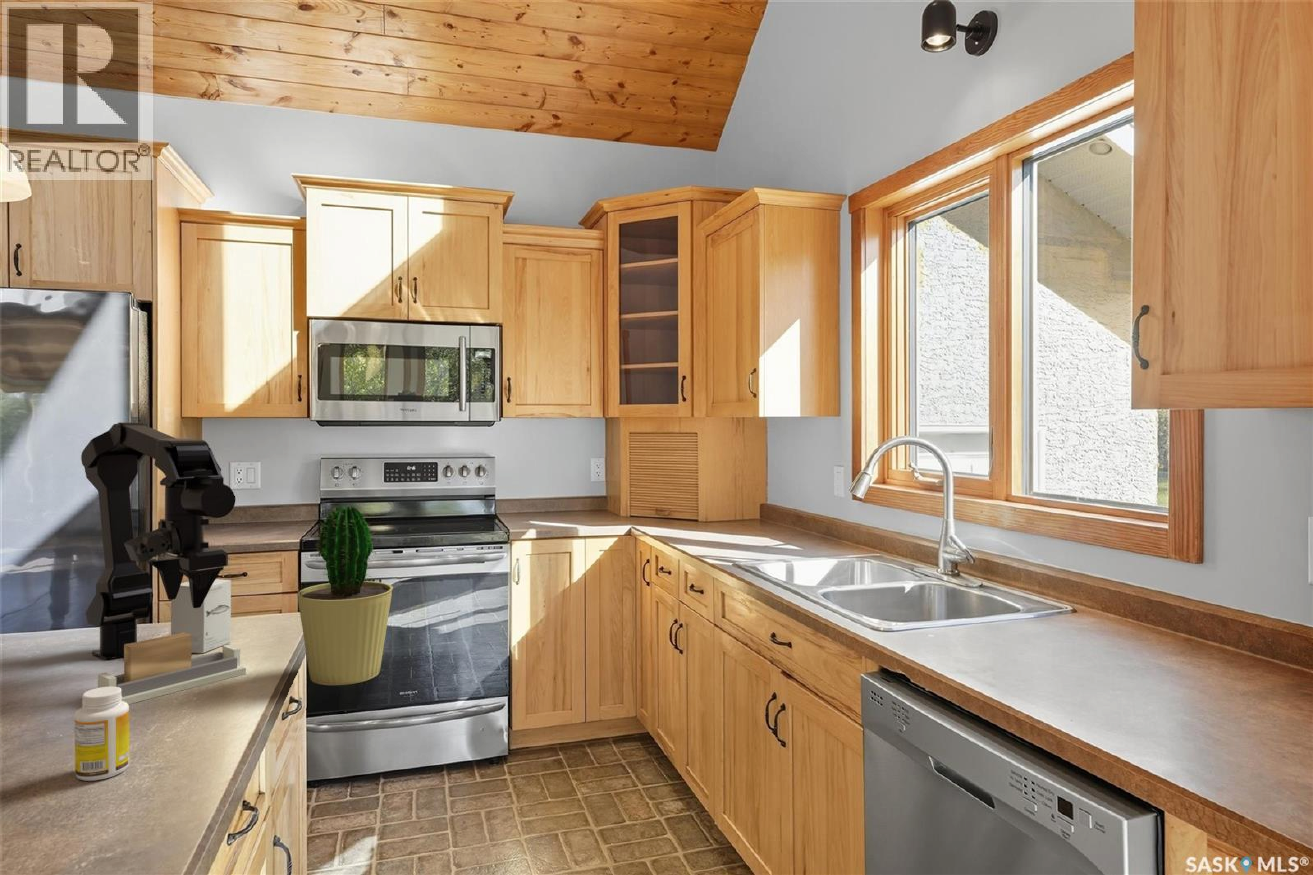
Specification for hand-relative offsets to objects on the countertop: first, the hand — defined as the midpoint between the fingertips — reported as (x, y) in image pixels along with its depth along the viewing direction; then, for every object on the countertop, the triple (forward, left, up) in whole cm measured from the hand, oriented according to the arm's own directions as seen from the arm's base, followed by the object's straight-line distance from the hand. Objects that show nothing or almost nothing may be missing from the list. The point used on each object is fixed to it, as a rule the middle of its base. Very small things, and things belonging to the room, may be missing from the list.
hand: (184, 603), depth 133 cm
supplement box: (-14, +10, -13) cm, 21 cm away
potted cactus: (+22, +17, -13) cm, 30 cm away
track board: (+4, -3, -12) cm, 13 cm away
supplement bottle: (+31, -23, -13) cm, 41 cm away
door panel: (+4, -6, -11) cm, 13 cm away
